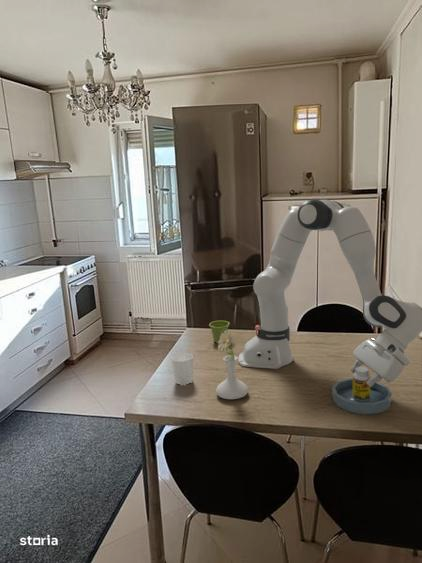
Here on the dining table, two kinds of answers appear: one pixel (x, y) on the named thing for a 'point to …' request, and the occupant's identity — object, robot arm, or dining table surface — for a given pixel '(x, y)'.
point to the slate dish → (374, 405)
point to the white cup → (183, 368)
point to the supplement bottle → (361, 384)
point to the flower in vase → (230, 372)
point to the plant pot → (218, 329)
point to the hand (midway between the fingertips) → (359, 378)
